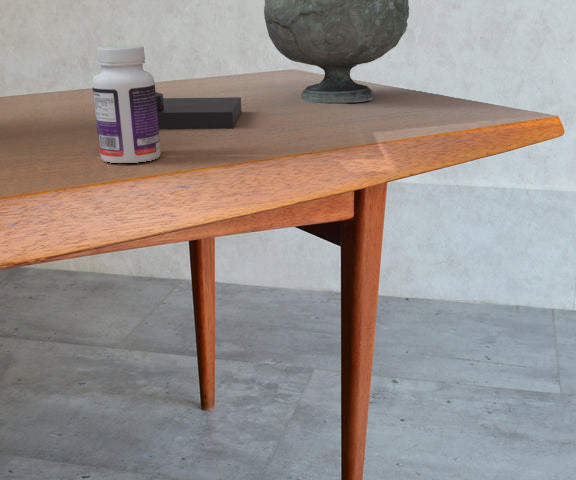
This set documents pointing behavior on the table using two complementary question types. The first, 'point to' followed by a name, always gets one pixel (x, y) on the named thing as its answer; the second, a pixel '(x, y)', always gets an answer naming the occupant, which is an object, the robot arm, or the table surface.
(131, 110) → the pill bottle
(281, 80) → the table surface
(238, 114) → the scale
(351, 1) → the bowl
